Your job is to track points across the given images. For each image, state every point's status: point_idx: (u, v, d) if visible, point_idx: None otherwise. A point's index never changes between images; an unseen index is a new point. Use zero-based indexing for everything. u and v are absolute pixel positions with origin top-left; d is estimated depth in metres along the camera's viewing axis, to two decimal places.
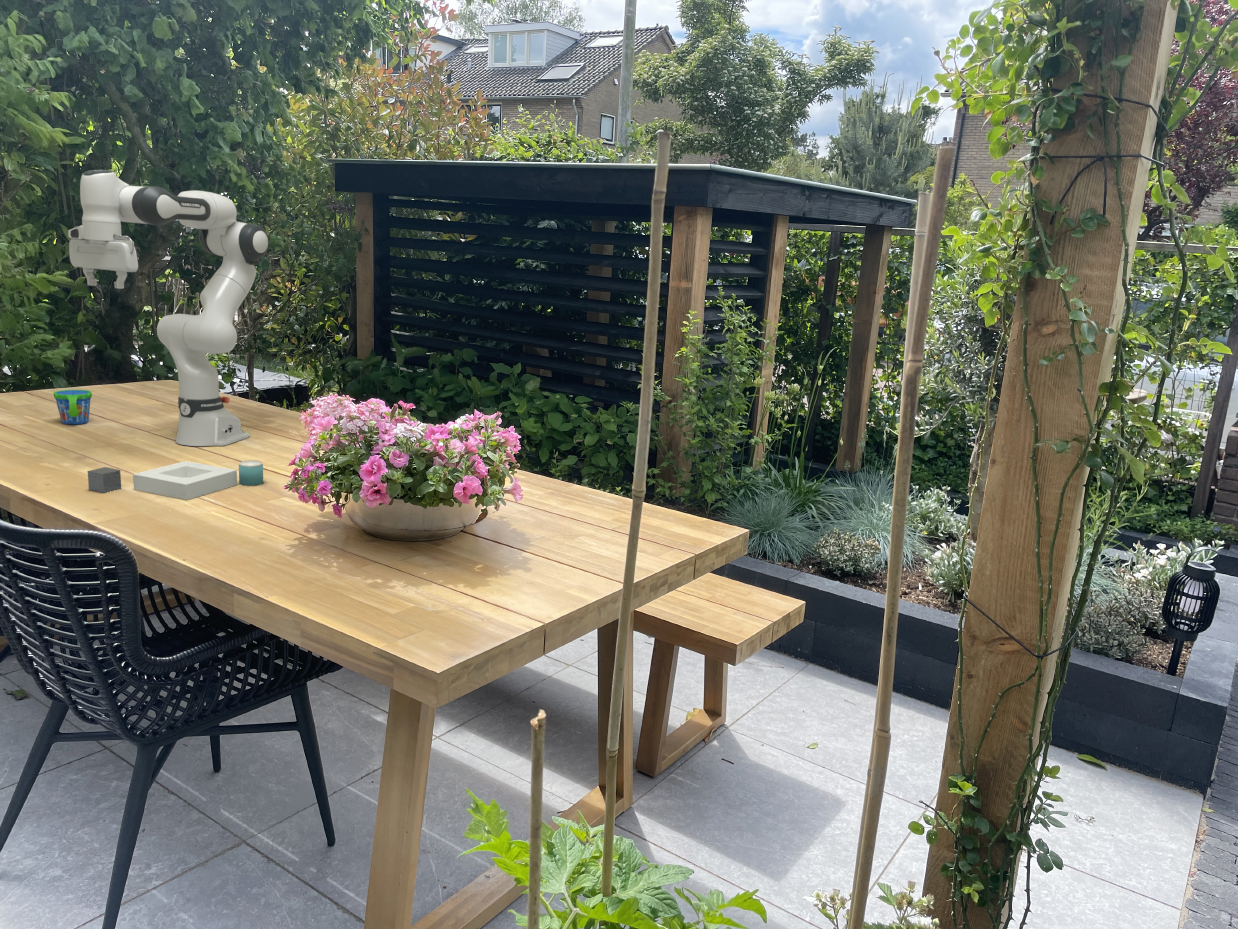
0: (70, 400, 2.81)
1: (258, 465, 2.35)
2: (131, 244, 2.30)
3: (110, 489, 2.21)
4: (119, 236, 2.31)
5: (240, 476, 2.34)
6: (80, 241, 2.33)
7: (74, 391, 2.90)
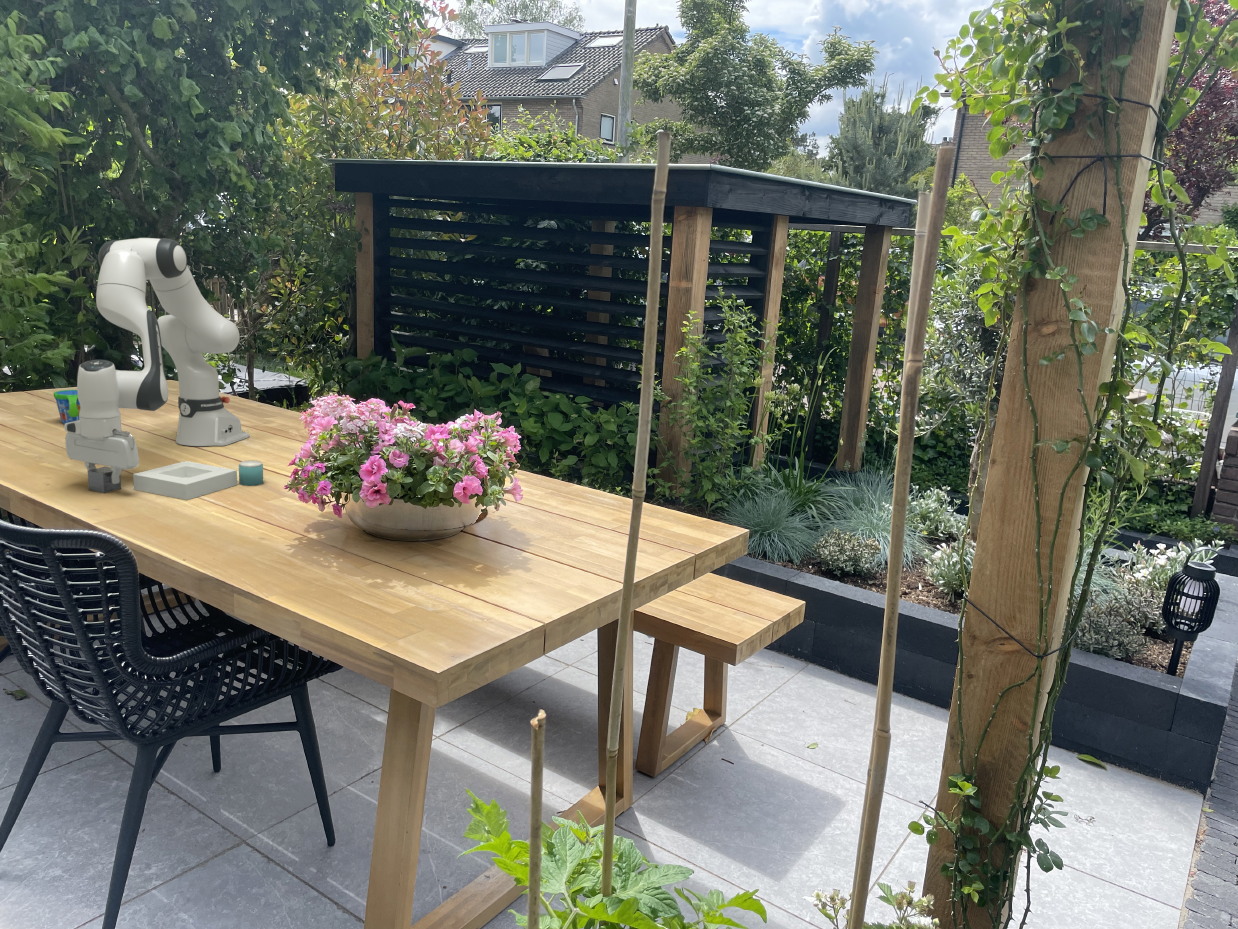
0: (70, 400, 2.81)
1: (258, 465, 2.35)
2: (132, 441, 2.15)
3: (110, 489, 2.21)
4: (119, 432, 2.16)
5: (240, 476, 2.34)
6: (77, 436, 2.18)
7: (74, 391, 2.90)
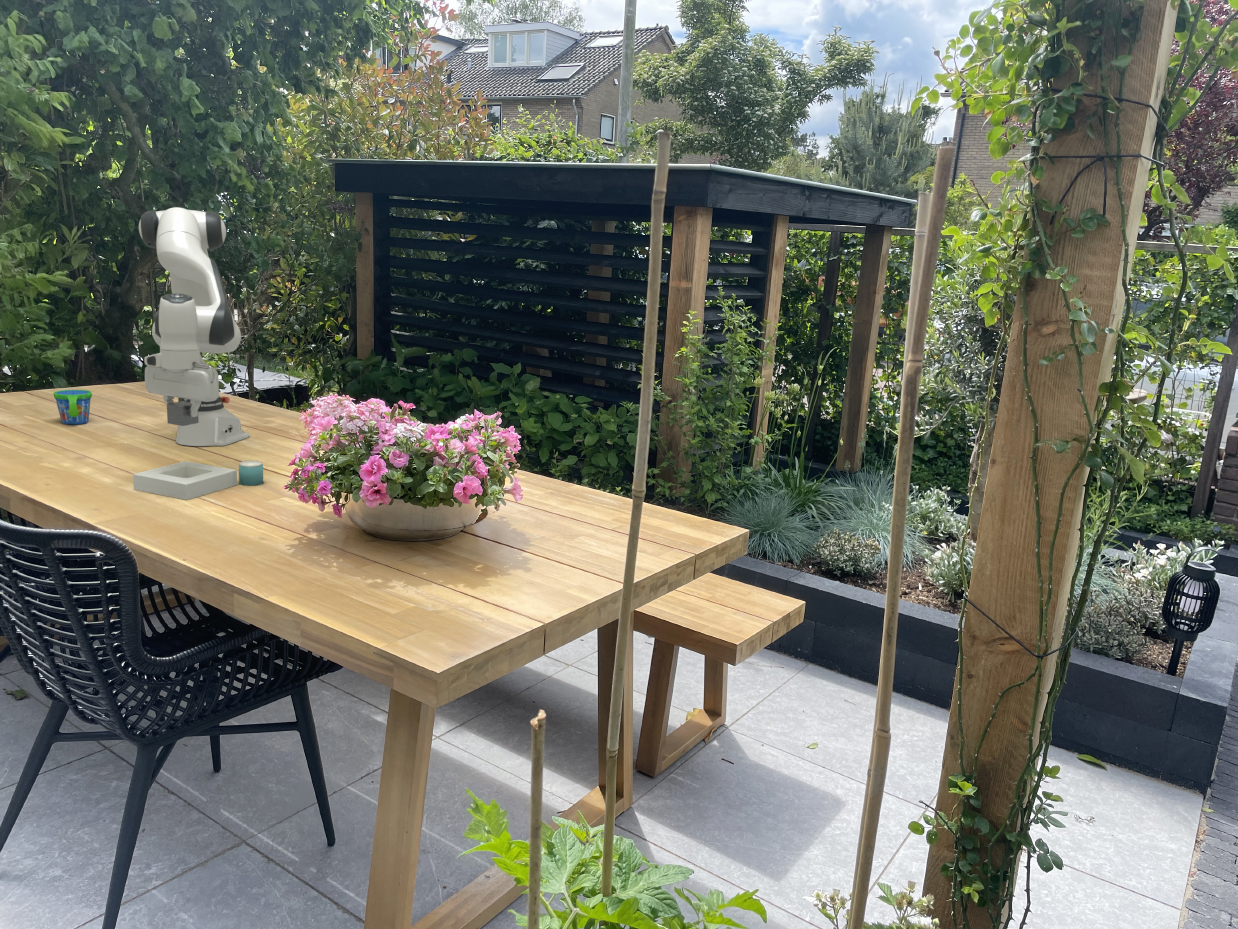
0: (70, 400, 2.81)
1: (258, 465, 2.35)
2: (212, 373, 2.18)
3: (188, 422, 2.23)
4: (199, 364, 2.19)
5: (240, 476, 2.34)
6: (157, 369, 2.20)
7: (74, 391, 2.90)
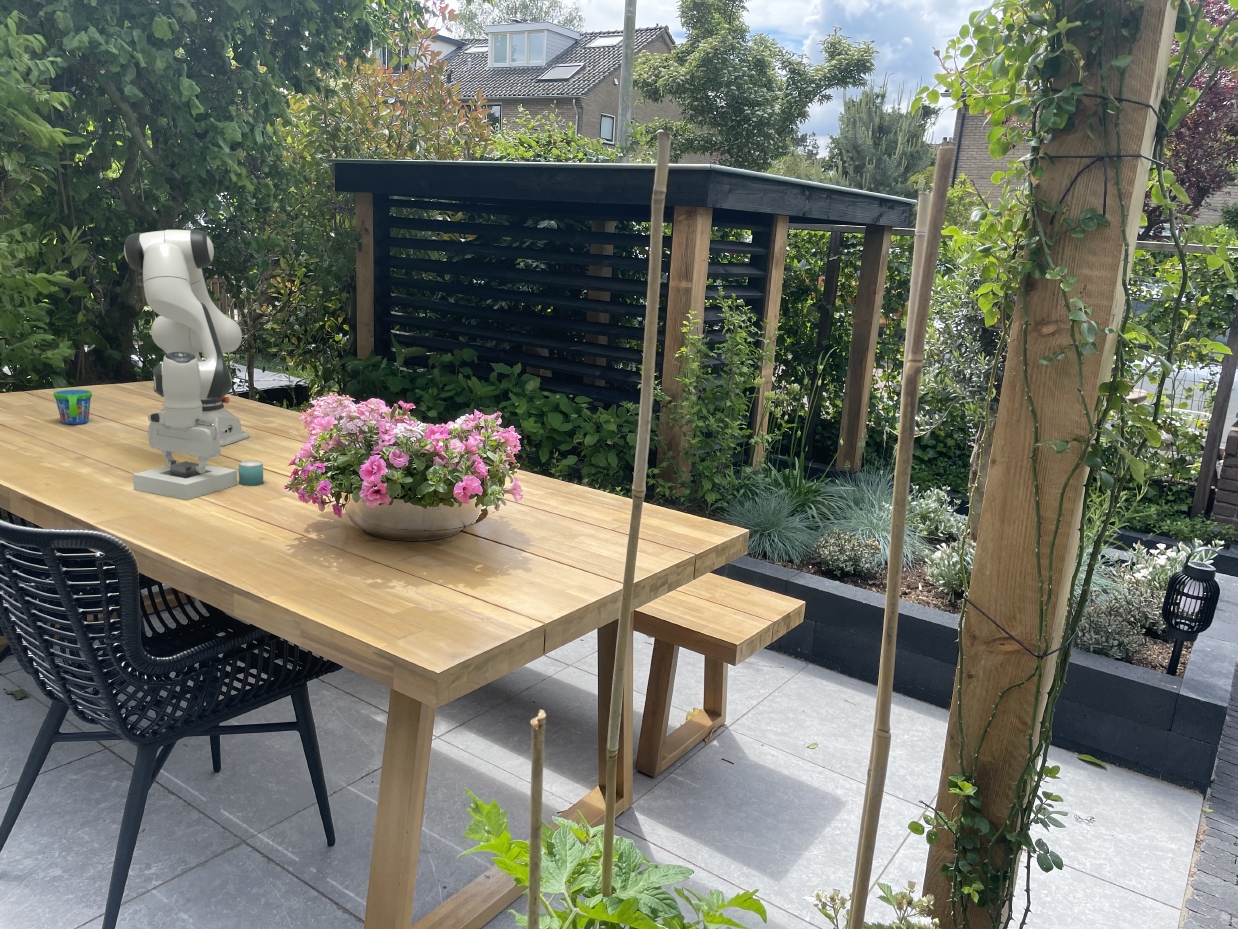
0: (70, 400, 2.81)
1: (258, 465, 2.35)
2: (214, 431, 2.22)
3: None
4: (202, 422, 2.22)
5: (240, 476, 2.34)
6: (160, 425, 2.24)
7: (74, 391, 2.90)
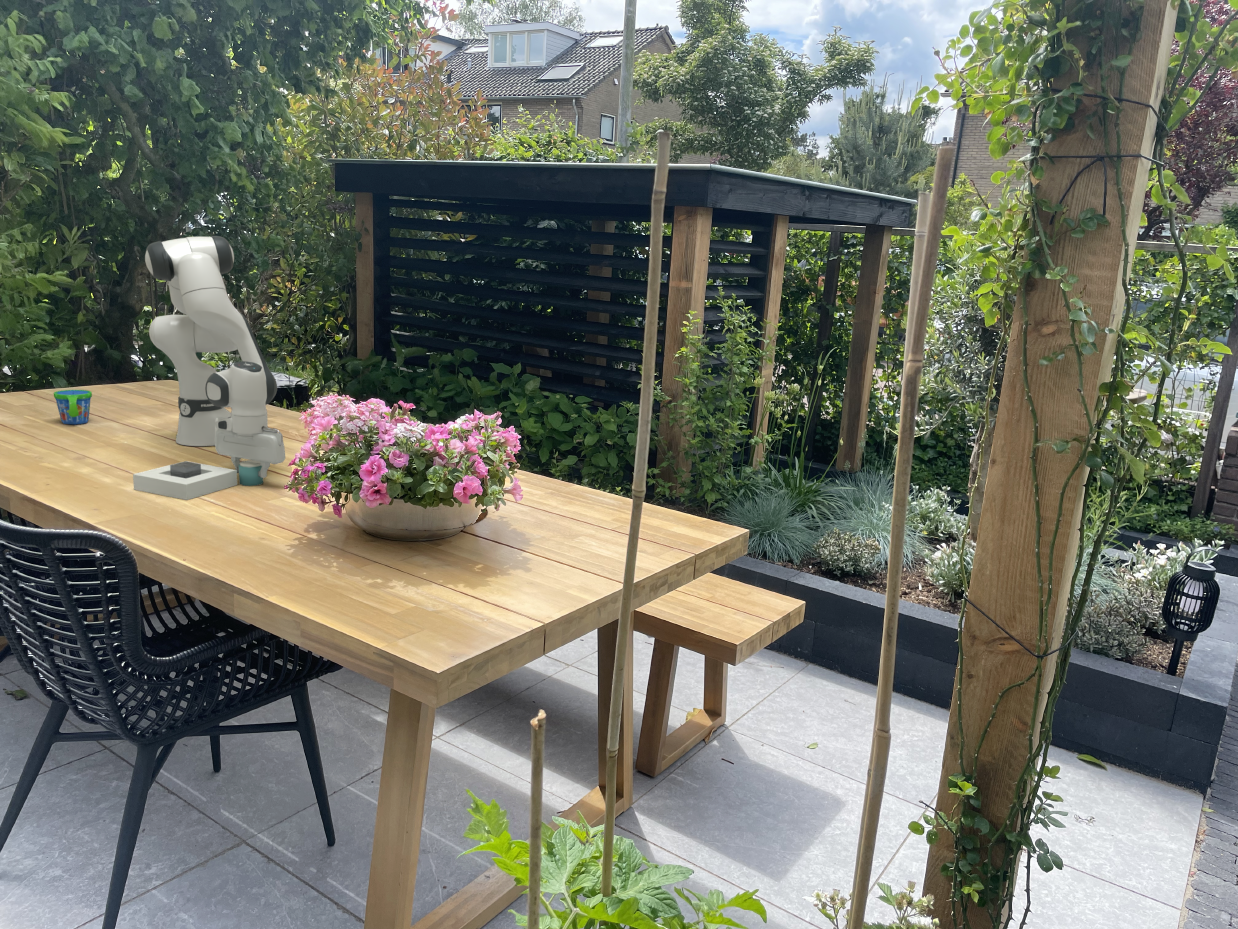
0: (70, 400, 2.81)
1: (258, 465, 2.35)
2: (280, 437, 2.30)
3: None
4: (268, 429, 2.31)
5: (240, 476, 2.34)
6: (228, 432, 2.32)
7: (74, 391, 2.90)
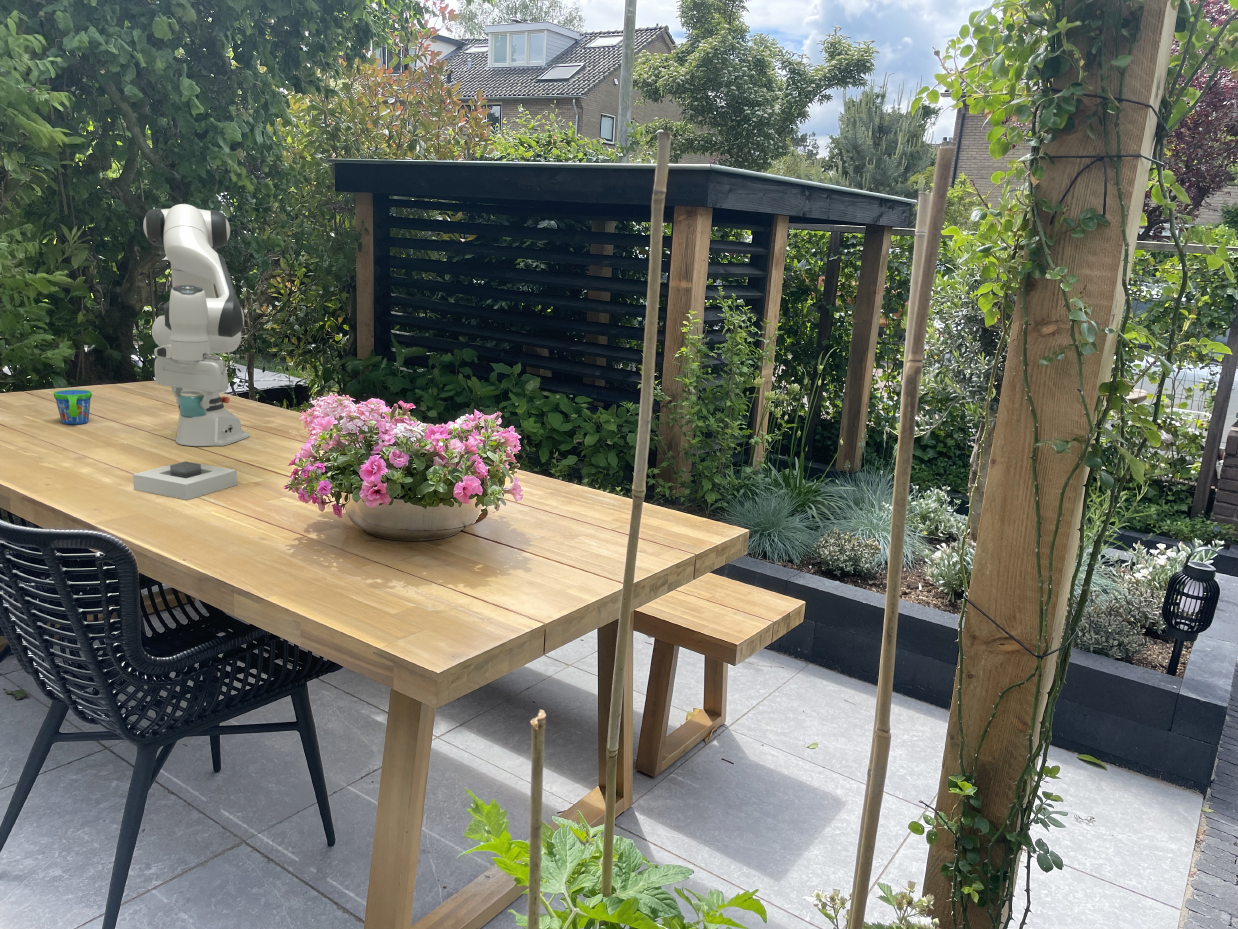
0: (70, 400, 2.81)
1: (200, 395, 2.23)
2: (222, 364, 2.19)
3: None
4: (209, 356, 2.19)
5: (181, 406, 2.23)
6: (167, 360, 2.21)
7: (74, 391, 2.90)
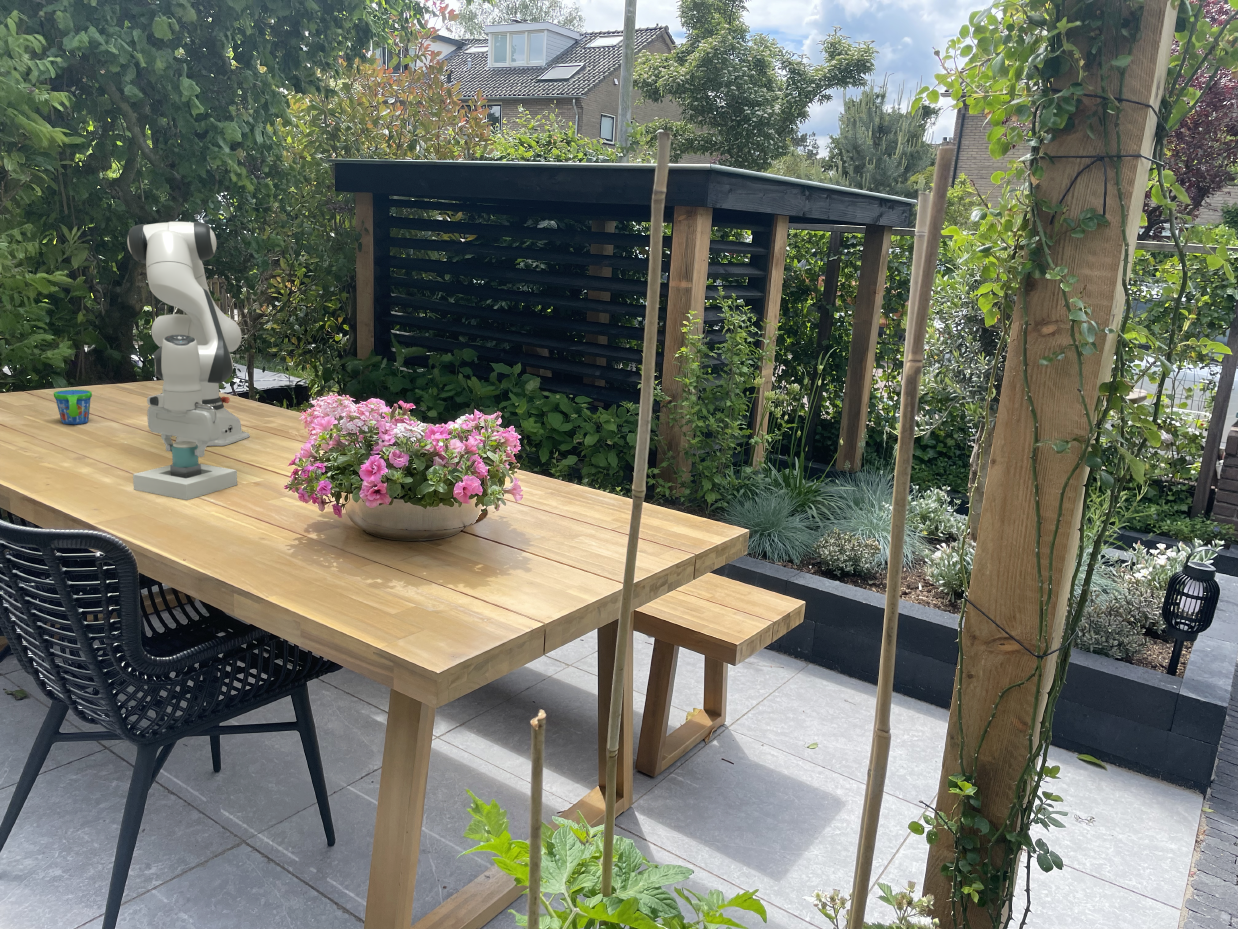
0: (70, 400, 2.81)
1: (192, 446, 2.25)
2: (214, 414, 2.21)
3: None
4: (201, 405, 2.21)
5: (173, 457, 2.25)
6: (160, 409, 2.23)
7: (74, 391, 2.90)
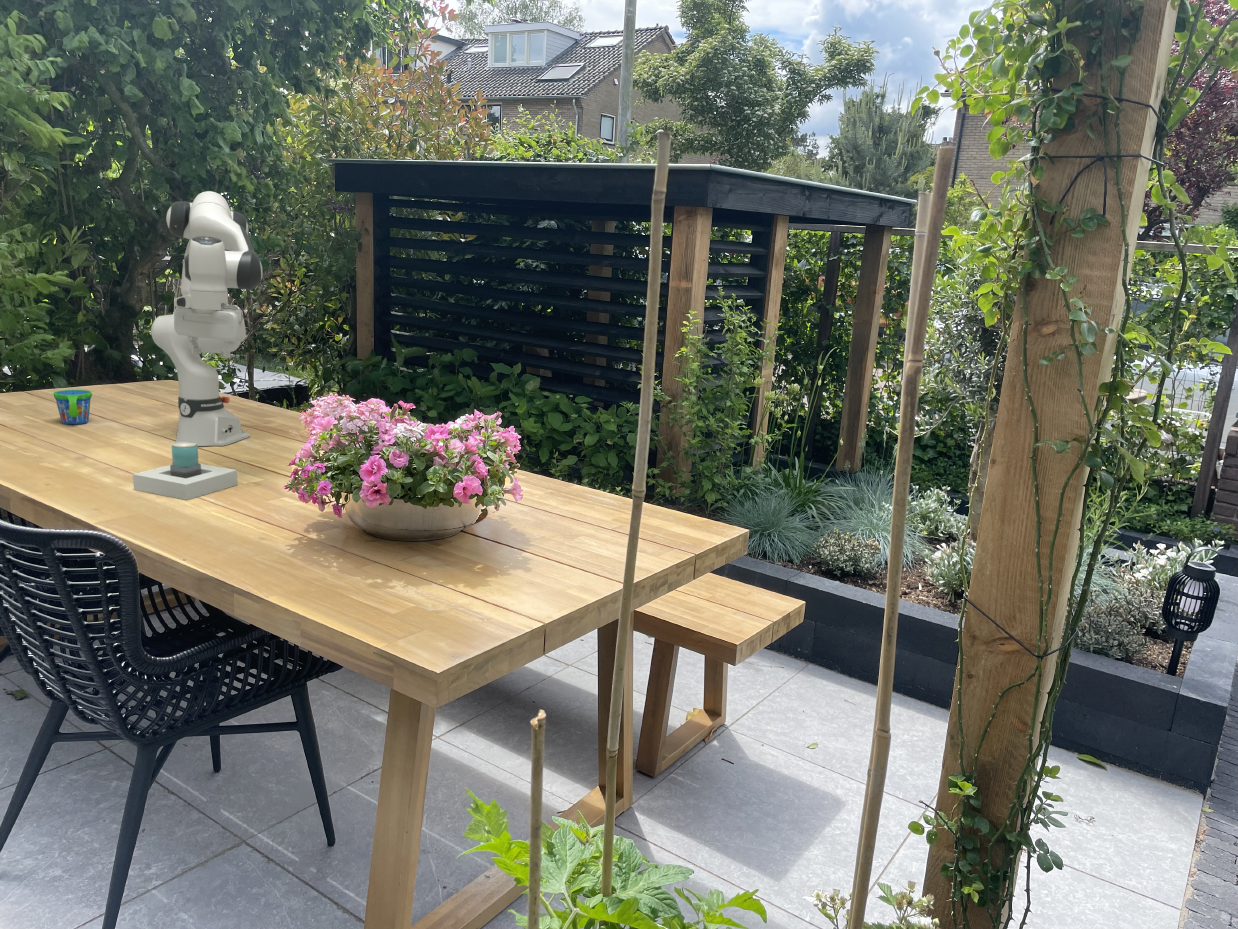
0: (70, 400, 2.81)
1: (192, 446, 2.25)
2: (240, 314, 2.24)
3: None
4: (227, 305, 2.25)
5: (173, 457, 2.25)
6: (186, 310, 2.26)
7: (74, 391, 2.90)
